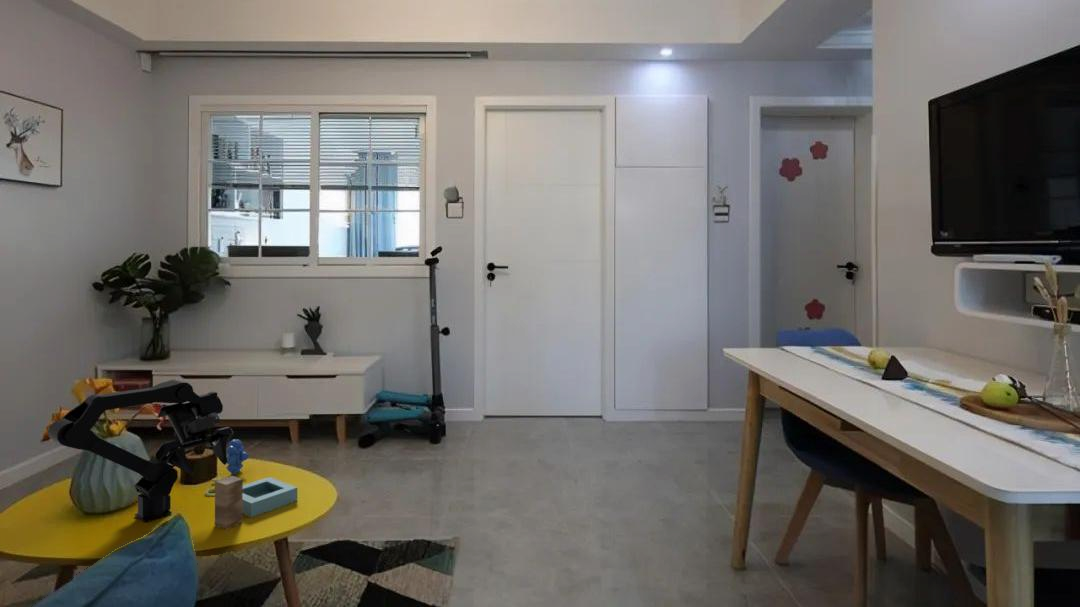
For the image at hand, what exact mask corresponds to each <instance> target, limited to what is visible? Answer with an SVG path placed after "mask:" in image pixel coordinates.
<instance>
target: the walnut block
mask: <svg viewBox="0 0 1080 607" xmlns="http://www.w3.org/2000/svg"><path fill="white" fill-rule="evenodd" d="M243 485H244V482H243V478H240V477H236V476H233V475H231V476H227V477H222V479H220V480H217V481H214V488H215V492H214V494H215V496H214V526H215V525H216V526H215V527H217V526H220V527H222V528H221V529H223V528H224V529H223V530H228V529H227V528H229V529H231V528H233V527H232V526H234V525H236V524H238V525H240V524H239V523H241V524H243V514H242V491H243ZM236 526H237V525H236ZM220 527H219V528H220ZM230 527H231V528H230ZM234 527H235V526H234Z"/></svg>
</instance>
